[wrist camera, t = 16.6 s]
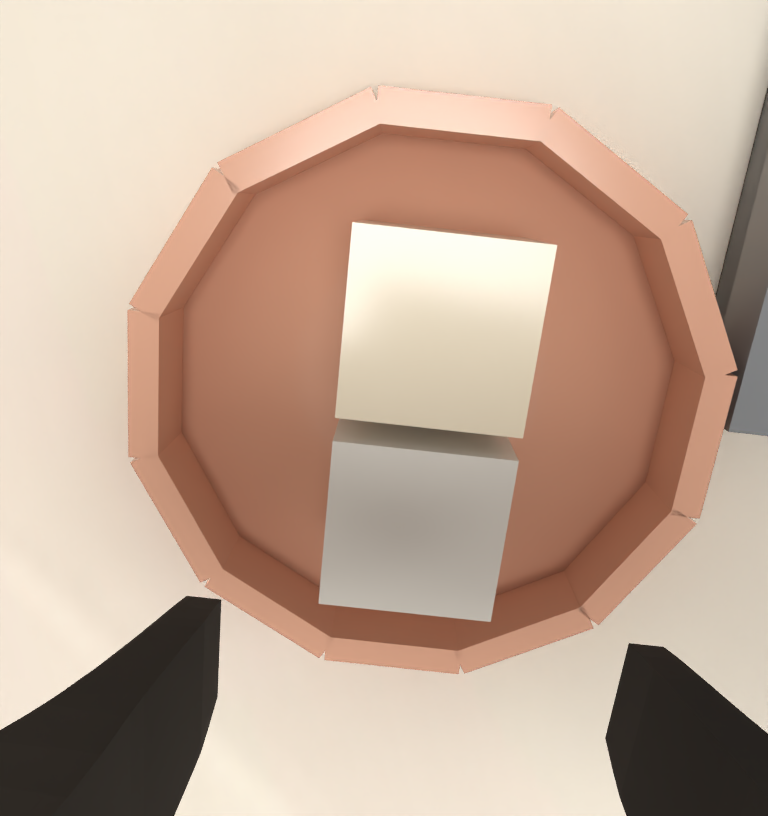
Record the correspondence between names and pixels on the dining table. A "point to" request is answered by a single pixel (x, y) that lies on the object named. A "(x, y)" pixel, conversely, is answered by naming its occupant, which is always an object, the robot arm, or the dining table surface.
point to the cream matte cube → (442, 327)
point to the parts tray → (749, 294)
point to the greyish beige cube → (416, 519)
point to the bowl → (320, 358)
